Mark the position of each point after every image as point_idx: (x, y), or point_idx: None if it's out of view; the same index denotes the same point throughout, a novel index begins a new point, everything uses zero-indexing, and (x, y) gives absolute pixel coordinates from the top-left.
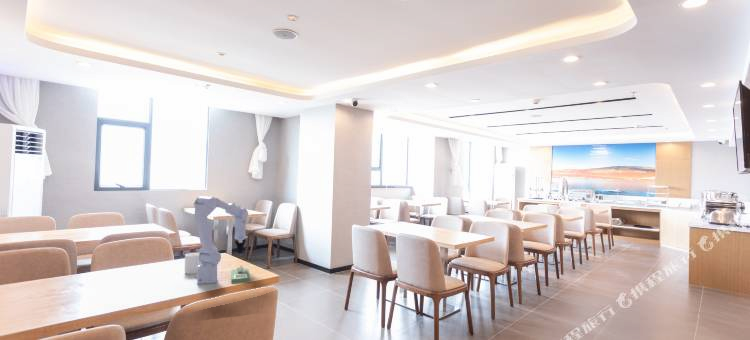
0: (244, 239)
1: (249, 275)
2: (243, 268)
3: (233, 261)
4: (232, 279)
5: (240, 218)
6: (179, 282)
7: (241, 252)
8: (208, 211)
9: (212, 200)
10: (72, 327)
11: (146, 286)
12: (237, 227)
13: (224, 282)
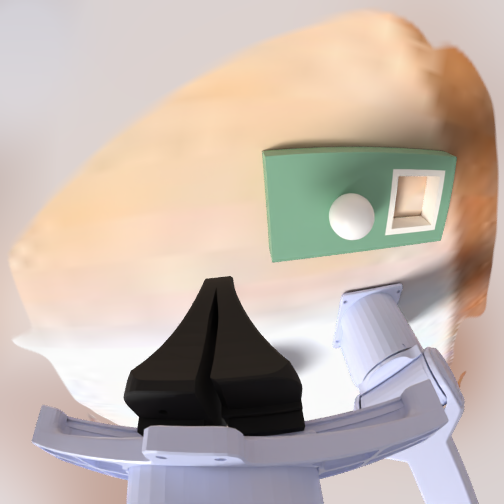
0: (129, 397)
1: (426, 154)
2: (360, 196)
3: (31, 266)
4: (440, 235)
5: None
6: (332, 375)
7: (233, 283)
8: None
9: None
10: (459, 383)
11: (332, 408)
12: None
13: (408, 258)
